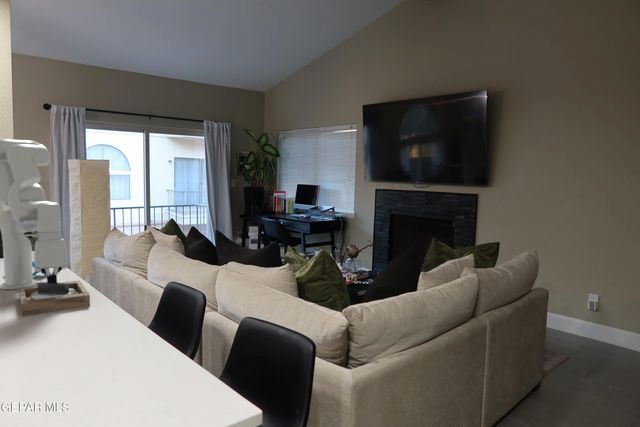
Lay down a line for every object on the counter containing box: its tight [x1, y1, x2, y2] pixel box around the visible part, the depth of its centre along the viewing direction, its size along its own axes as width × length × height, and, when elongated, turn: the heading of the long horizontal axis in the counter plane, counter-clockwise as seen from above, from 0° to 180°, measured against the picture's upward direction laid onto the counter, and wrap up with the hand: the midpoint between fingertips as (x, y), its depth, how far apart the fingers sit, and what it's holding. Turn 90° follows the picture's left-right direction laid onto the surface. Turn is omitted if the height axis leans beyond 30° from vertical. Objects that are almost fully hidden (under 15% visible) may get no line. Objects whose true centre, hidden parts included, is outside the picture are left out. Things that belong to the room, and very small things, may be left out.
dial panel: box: [18, 280, 91, 317], centre depth 159 cm, size 24×20×4 cm
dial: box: [30, 281, 76, 300], centre depth 159 cm, size 14×14×5 cm
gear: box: [32, 260, 47, 277], centre depth 195 cm, size 11×6×10 cm
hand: (52, 285), depth 162 cm, fingers closed
